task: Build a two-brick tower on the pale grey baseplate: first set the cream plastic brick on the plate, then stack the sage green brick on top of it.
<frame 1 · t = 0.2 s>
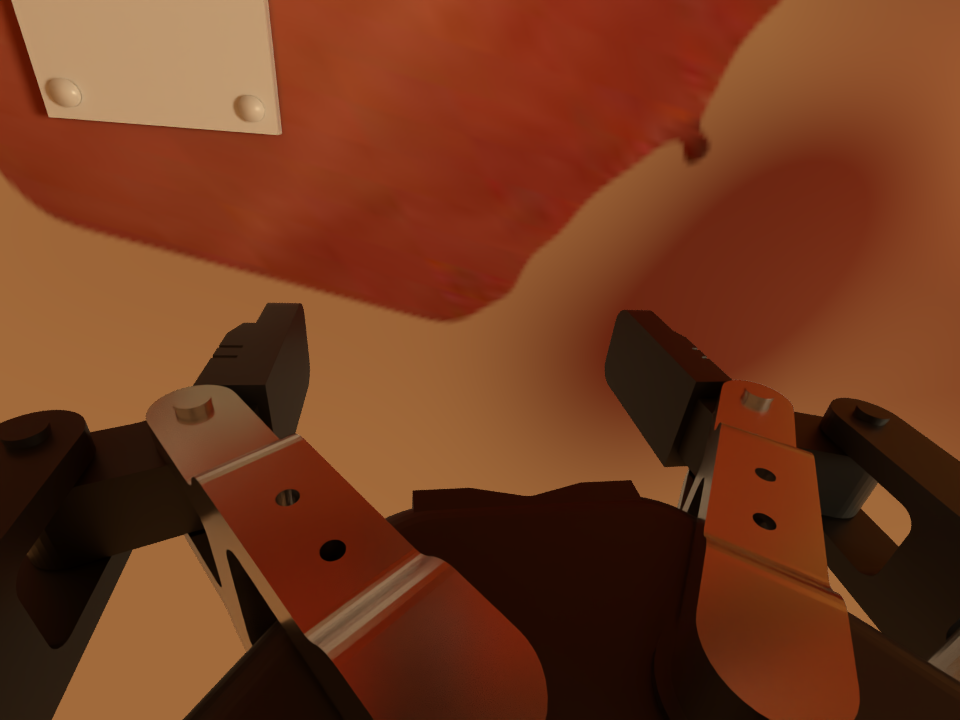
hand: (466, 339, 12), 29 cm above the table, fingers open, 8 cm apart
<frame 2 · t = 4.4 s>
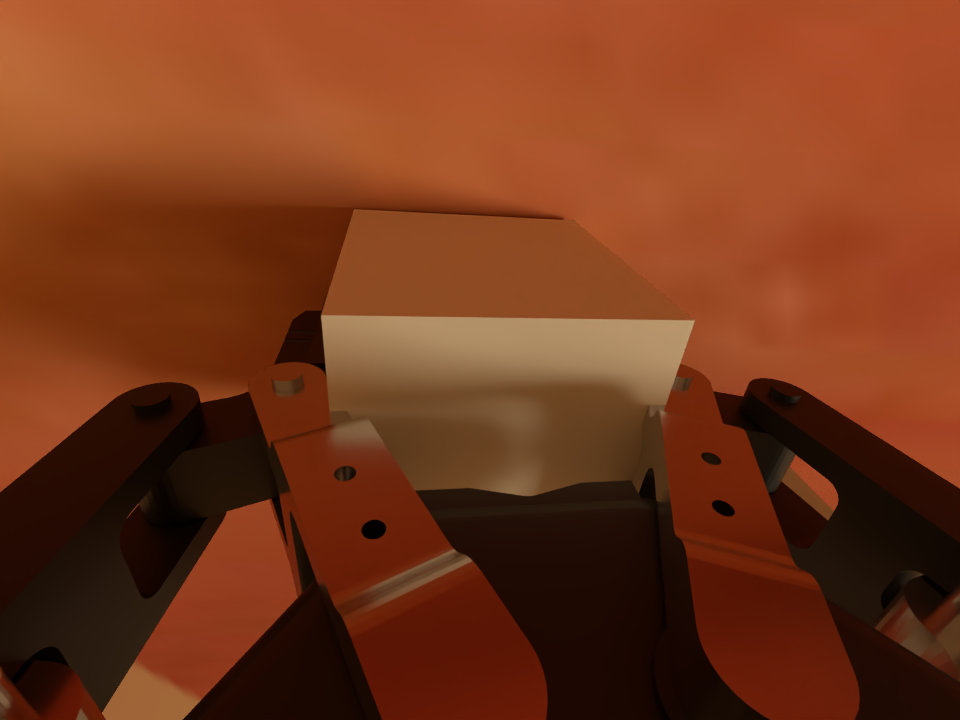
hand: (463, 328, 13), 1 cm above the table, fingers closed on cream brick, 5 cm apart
sage brick: (654, 481, 18), on the table
cream brick: (460, 315, 13), on the table, touching gripper
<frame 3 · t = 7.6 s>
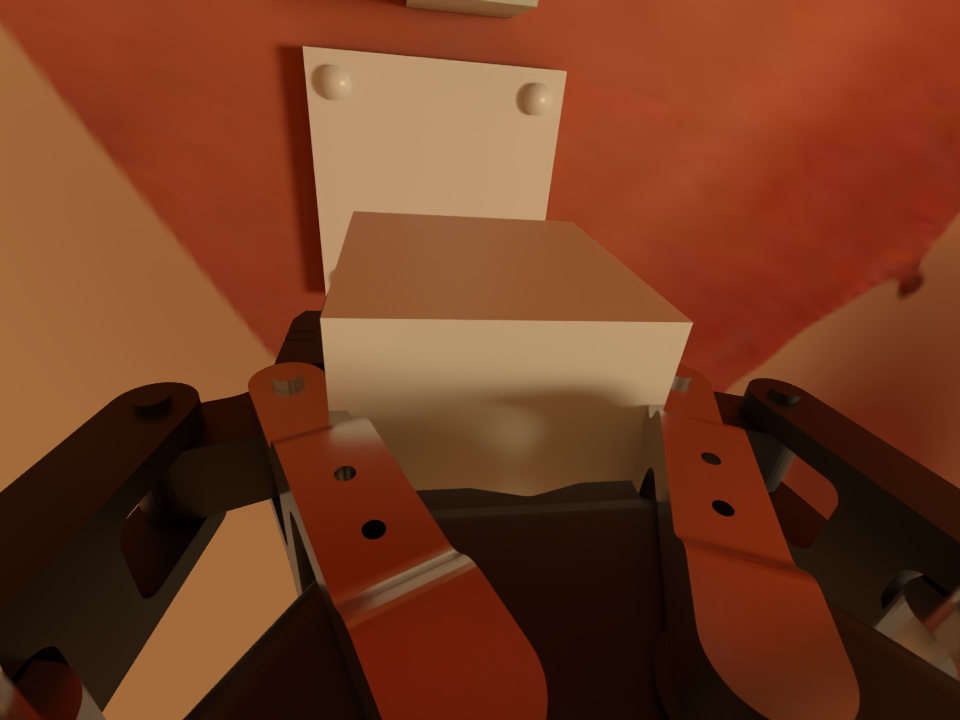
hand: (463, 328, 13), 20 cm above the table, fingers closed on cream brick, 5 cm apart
baseplate: (435, 191, 30), on the table
cream brick: (460, 317, 14), point 19 cm above the table, touching gripper
when the fingers open (3 cm above the table, at t = 10.8 s): cream brick drops 1 cm, resting on baseplate.
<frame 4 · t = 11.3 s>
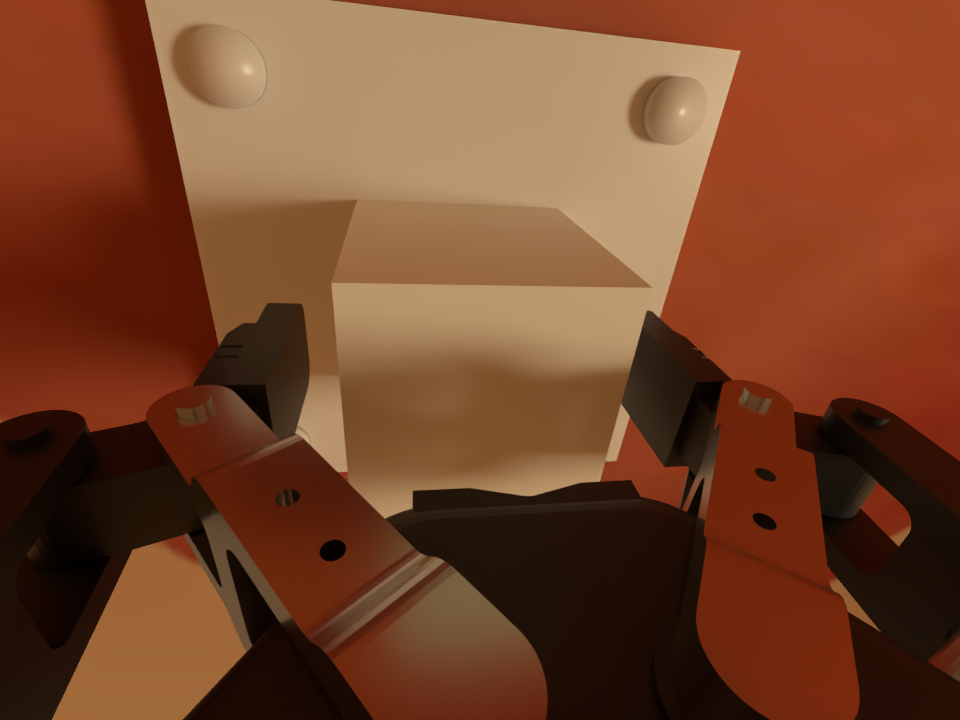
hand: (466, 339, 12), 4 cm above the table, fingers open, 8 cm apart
baseplate: (450, 282, 16), on the table
cream brick: (455, 297, 15), point 1 cm above the table, touching baseplate
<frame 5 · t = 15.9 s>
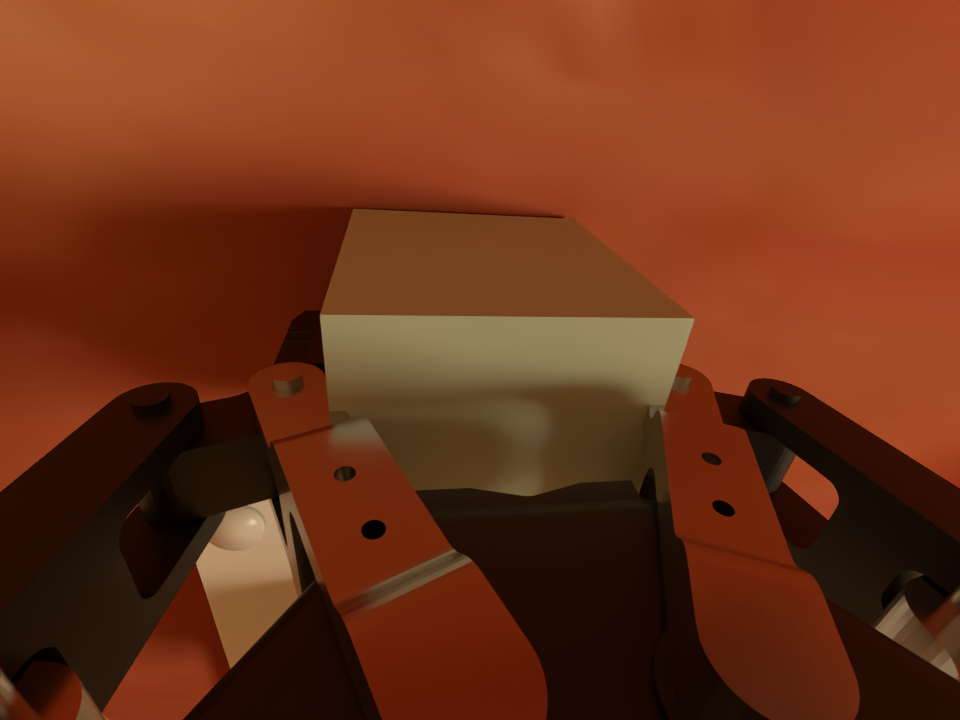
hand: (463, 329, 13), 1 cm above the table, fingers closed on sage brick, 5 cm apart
baseplate: (415, 584, 19), on the table
sage brick: (461, 314, 13), on the table, touching gripper
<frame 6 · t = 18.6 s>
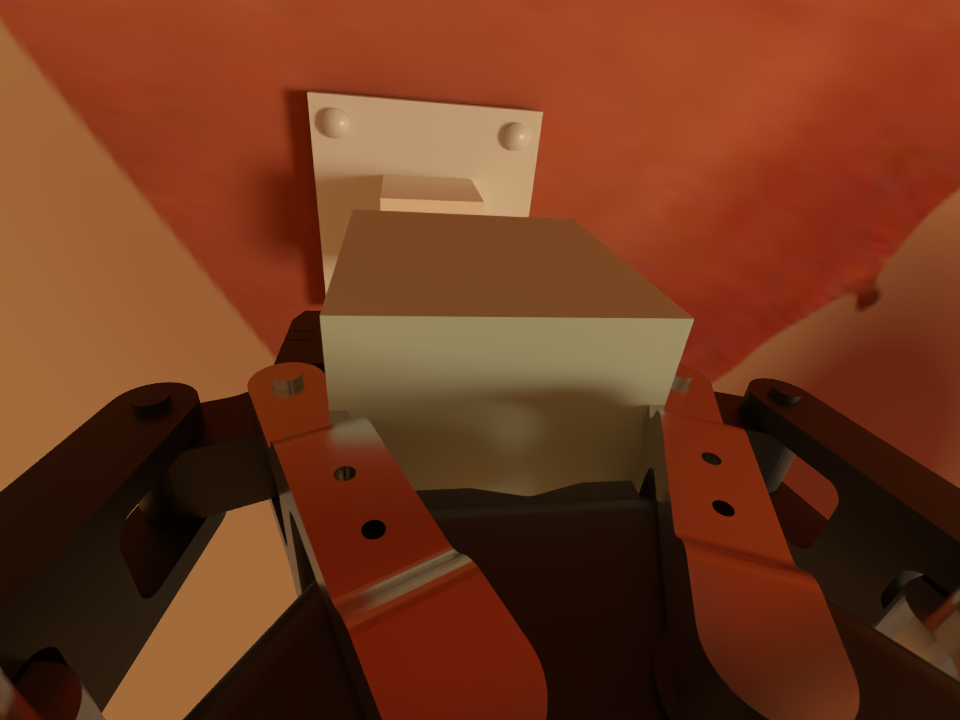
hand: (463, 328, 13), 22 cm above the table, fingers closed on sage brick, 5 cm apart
baseplate: (425, 215, 33), on the table
sage brick: (460, 315, 13), point 22 cm above the table, touching gripper
cream brick: (427, 220, 32), point 1 cm above the table, touching baseplate
when the fingers open (9 cm above the table, at t = 21.7 s): sage brick drops 1 cm, resting on cream brick.
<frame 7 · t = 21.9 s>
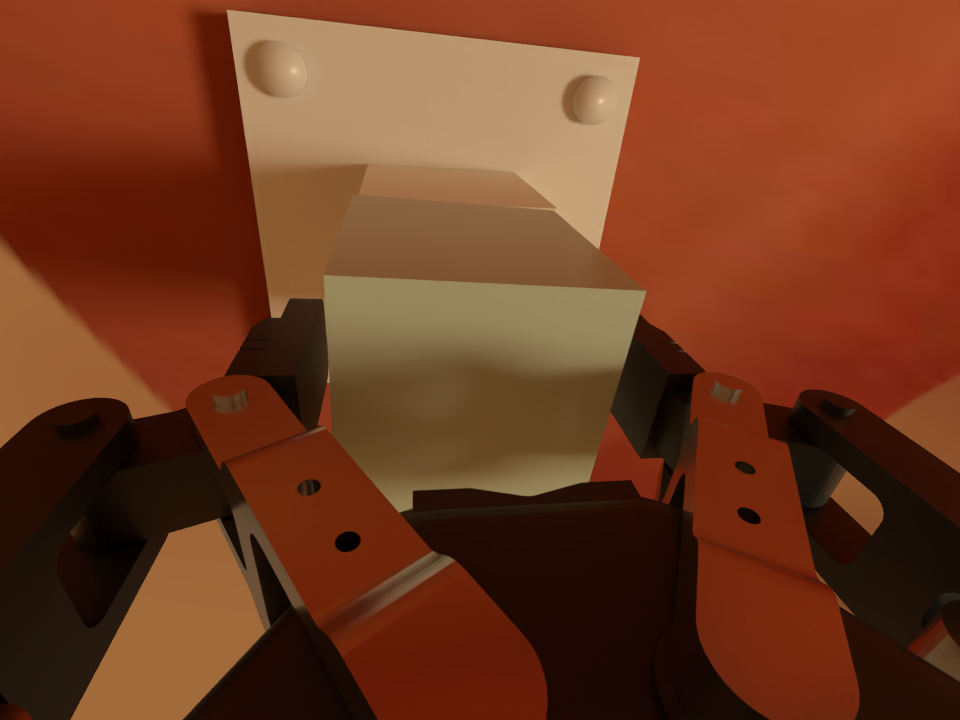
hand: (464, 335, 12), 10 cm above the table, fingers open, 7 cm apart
baseplate: (437, 231, 21), on the table
sage brick: (449, 296, 15), point 7 cm above the table, touching cream brick
cream brick: (440, 240, 20), point 1 cm above the table, touching baseplate, sage brick
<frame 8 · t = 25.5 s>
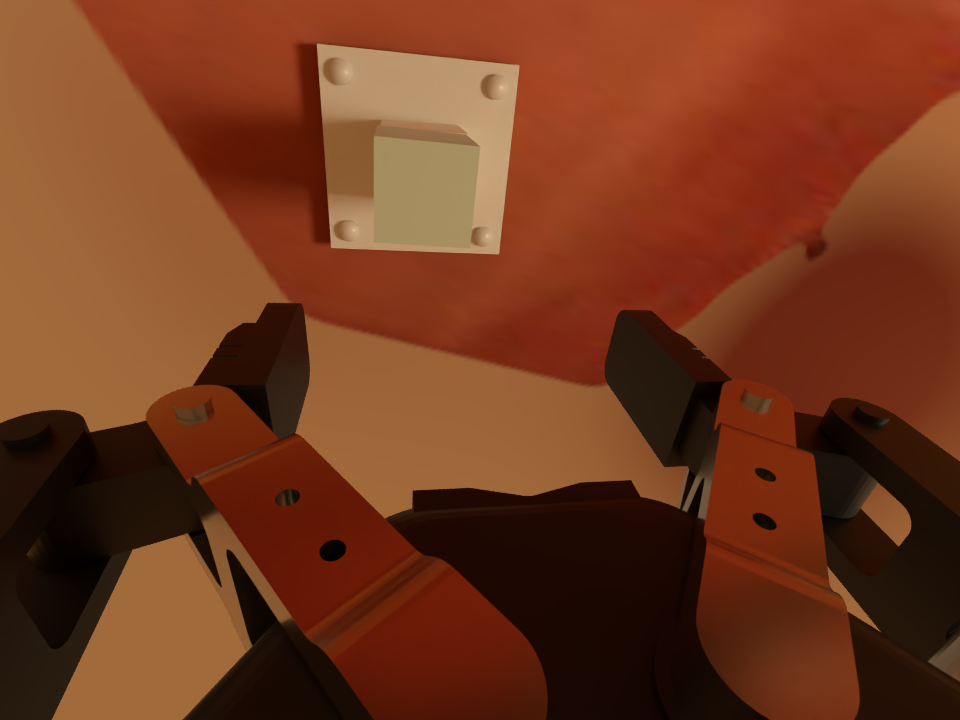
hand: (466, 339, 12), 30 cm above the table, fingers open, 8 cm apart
baseplate: (418, 160, 38), on the table
sage brick: (420, 176, 32), point 7 cm above the table, touching cream brick
cream brick: (419, 162, 37), point 1 cm above the table, touching baseplate, sage brick
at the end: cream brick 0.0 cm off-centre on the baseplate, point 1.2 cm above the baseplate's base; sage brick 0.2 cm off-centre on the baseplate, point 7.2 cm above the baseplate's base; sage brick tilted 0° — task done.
